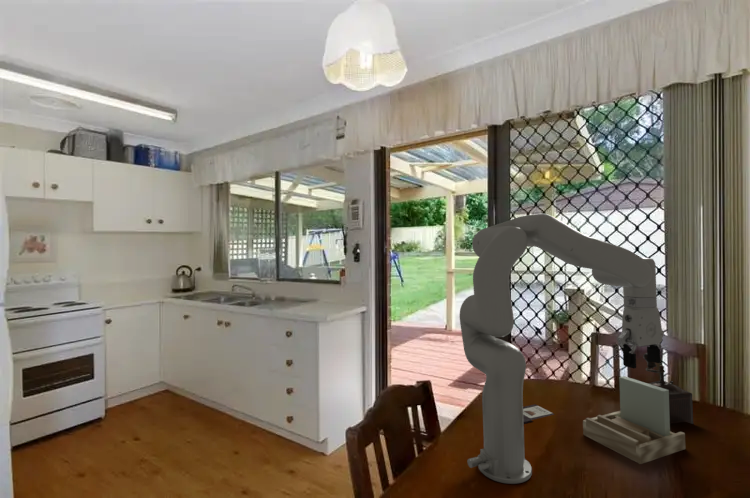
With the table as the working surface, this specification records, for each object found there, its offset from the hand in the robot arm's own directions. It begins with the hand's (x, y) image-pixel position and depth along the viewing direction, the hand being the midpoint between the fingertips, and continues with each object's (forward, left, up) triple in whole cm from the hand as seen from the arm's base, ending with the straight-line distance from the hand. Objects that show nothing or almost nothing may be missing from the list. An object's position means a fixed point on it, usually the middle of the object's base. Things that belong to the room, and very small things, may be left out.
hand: (642, 364), depth 104 cm
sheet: (0, 0, -20) cm, 20 cm away
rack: (-5, 0, -21) cm, 22 cm away
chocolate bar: (-19, +26, -22) cm, 39 cm away
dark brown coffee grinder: (+19, +9, -21) cm, 30 cm away
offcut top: (-5, 0, -18) cm, 18 cm away
